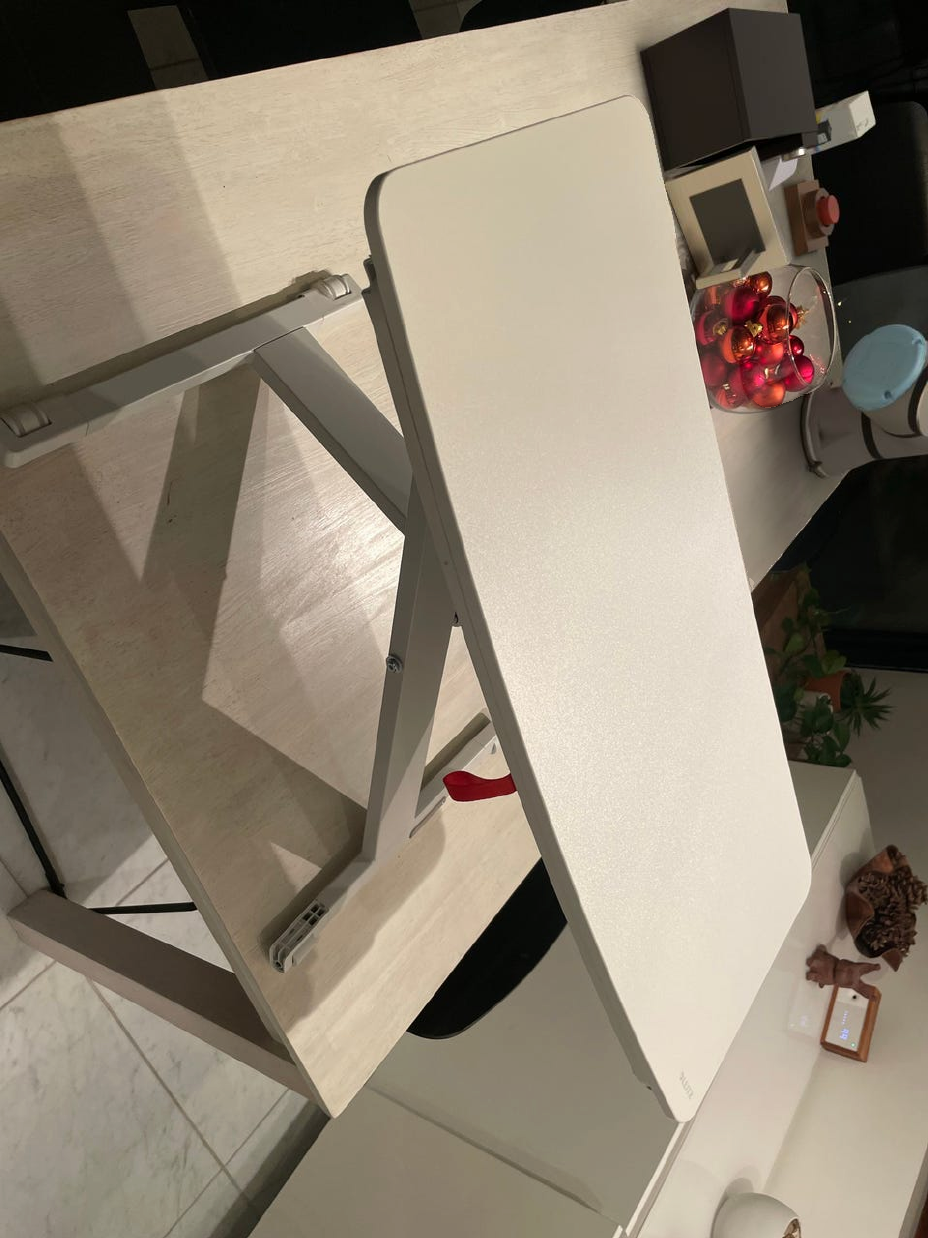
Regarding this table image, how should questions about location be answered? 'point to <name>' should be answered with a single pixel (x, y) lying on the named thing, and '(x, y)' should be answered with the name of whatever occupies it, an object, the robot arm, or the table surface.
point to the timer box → (806, 216)
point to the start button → (828, 210)
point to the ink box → (842, 122)
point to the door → (729, 219)
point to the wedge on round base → (778, 171)
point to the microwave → (731, 89)
